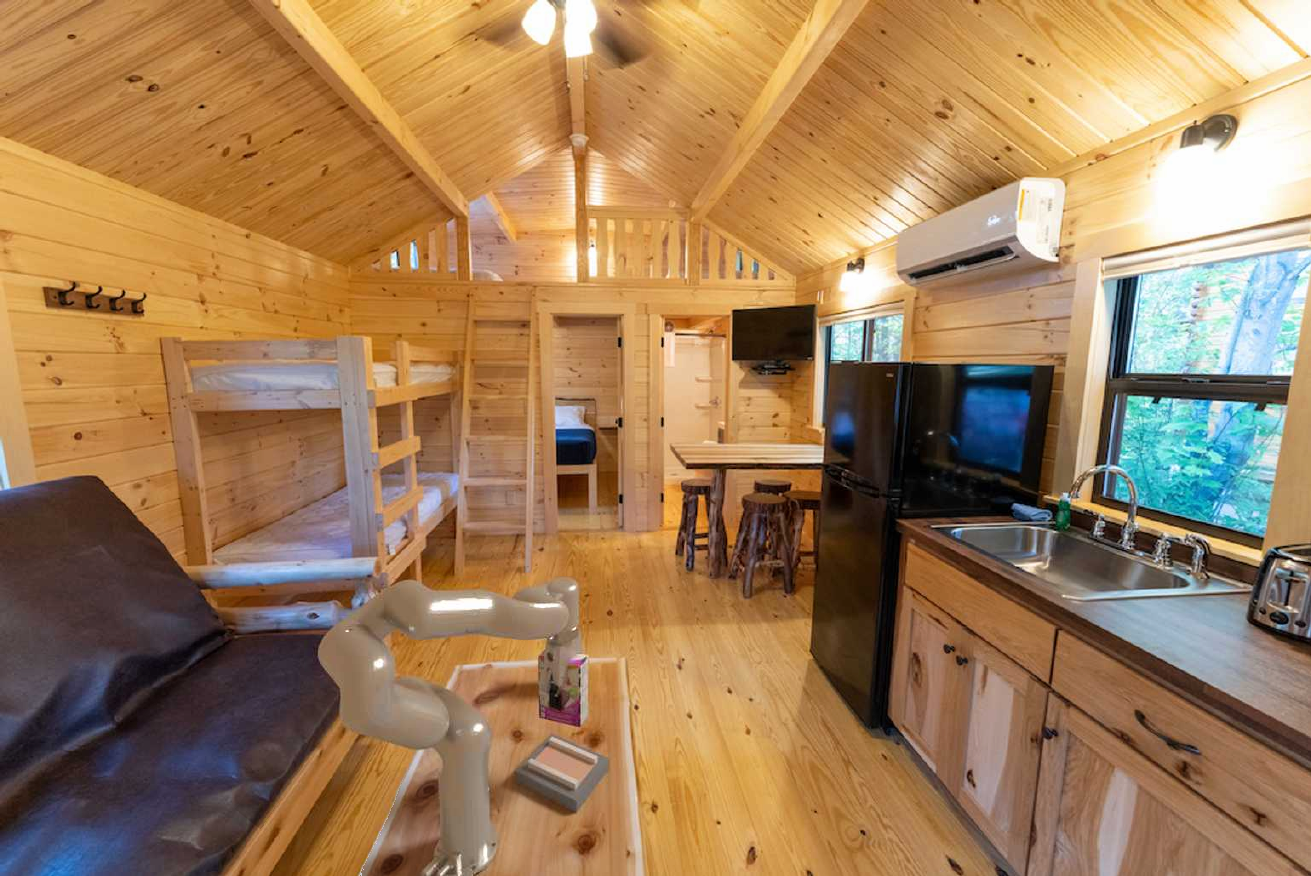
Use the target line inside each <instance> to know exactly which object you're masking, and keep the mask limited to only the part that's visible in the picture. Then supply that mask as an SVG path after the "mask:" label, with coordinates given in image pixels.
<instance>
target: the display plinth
mask: <svg viewBox="0 0 1311 876" xmlns="http://www.w3.org/2000/svg"><path fill="white" fill-rule="evenodd" d="M609 769H610V758H609V757H607V756H605V755H603V754H600V753H598V752H596V751H593V750H591V749H589V748H586V747H584V746H582V745H580V744H577V743H575V742H572V741H570V740H568V739H566V738H563V737H561V736H559V735H557V734H554V733H553V732H552V733H550V734H549V735H548V736H547V737H546V738H545V739H544V741H542V742H541V744H539V746H538V747H537V748H536V749H534V751H532V753H531V754H530V755H528V757H527V758H525V760H524V761H523V762H522V763H521V764H520V765H519V766H518V767H517V768H516V769H515V771H514V779H515V780H514V782H515V783H517V784H519V785H521V786H523V787H525V788H527V789H528V790H530V791H532V792H534V793H537V794H539V795H541V796H543V797H545V798H547V799H549V800H550V801H553V802H554V803H556V804H558V805H561V806H563V807H564V808H567V809H568V810H571V811H572V812H575V813H578V812H579V810H580V809H581V808H582V806H583V805H584V803H585V802H586V801H587V799H588V798H589V796H590V795H591V794H592V793H593V792H594V790H595V788H596V787H597V786H598V785H599V783H600V782H601V781H602V779H603V778H604V776H605V775H606V773H607V772H608V771H609Z"/></svg>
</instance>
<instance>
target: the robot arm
mask: <svg viewBox="0 0 1311 876" xmlns="http://www.w3.org/2000/svg"><path fill="white" fill-rule="evenodd" d="M579 587H580V586H579V583H578V582H577V581H576V580H575V579H574V578H570V577H565V576H564V577H558V578H554V579H552V580H550V581H549V582H547V583H542V584H537V585H530V586H527V587H523V588H521V589H519V590H517V592H515V593H514V595H513V596H512V597H511V598H510V597H508V596H505V595H503V594H500V593H497V592H494V591H491V590H488V589H487V590H486V589H457V590H455V589H454V590H453V589H451V590H450V589H449V590H448V589H447V590H434V589H430V588H429V587H427V586H426V585H424V584H423V583H421V582H419V581H418V580H414V579H405V580H401V581H398V582H395V583H394V584H392V585H391V586H390V585H389V586H388V587H386V588H385V589H384V590H382V591H381V592H378V594H376V595H374V597H373V596H372V598H371V599H369V600H368V601H366V602H365V603H363V604H362V605H361V606H359V607H358V608H357V609H355V610H354V611H352V612H351V613H349V614H348V615H347V616H346V617H344V618H343V619H342V620H340V621H339V622H337V623H336V624H335V625H334V626H333V627H331V628H330V629H329V630H328V631H327V633H326V634H324V636H323V637H322V639H321V641H320V644H318V645H319V646H318V650H317V657H318V660H319V663H320V665H321V666H322V668H323V669H324V670H325V672H326V673H327V674H328V675H329V676H330V677H331V679H332V680H333V681H334V682H335V684H336V685H337V686H338V687H339V691H340V701H339V717H340V721H341V723H342V725H343V726H344V728H346V730H349V731H350V732H352V733H355V734H359V735H362V736H367V737H369V738H372V739H376V740H378V741H382V742H385V743H389V744H392V745H396V746H399V747H403V748H405V749H409V750H413V751H421V750H422V751H423V750H427V749H430V748H433V750H434V751H435V752H436V753H437V754H438V755H439V757H440V759H441V762H442V767H441V770H440V771H439V774H438V781H437V782H438V785H437V786H438V799H439V802H438V803H439V805H438V806H439V820H440V823H439V825H440V838H439V840H438V841H437V843H436V846H435V848H434V851H433V859H432V860H431V861H430V862H429V863H427V865H426V866H425V867H424V868H423V869H422V870H421V872H420V876H433V875H434V874H435V876H471V875H473V874H476V873H477V872H479V871H481V870H482V871H483V870H485V868H487V867H488V866H489V865H490V863H491V862H492V861H493V859H494V857H495V855H496V854H497V851H498V848H499V833H498V831H497V828H496V827H495V825H493V823H491V819H490V818H491V817H490V816H491V815H490V814H491V813H490V810H491V809H490V783H489V781H490V776H489V759H490V751H491V746H492V741H493V732H492V726H491V725H490V723H489V722H488V720H487V719H486V717H485V716H484V715H483V714H482V713H481V712H479V710H477V709H476V708H475V707H474V706H472V704H470V703H468V701H466V700H465V699H464V698H463V697H461V696H460V695H459V694H458V693H457V692H455V691H453V690H451V689H449V688H447V687H444V686H440V685H438V684H437V683H434V682H431V681H428V680H426V679H424V678H421V677H419V676H414V675H405V676H400V677H397V678H395V677H396V661H395V657H394V654H393V652H392V650H391V649H390V647H388V646H387V644H386V643H384V642H383V640H384V639H386V638H387V636H389V635H390V634H391V633H393V632H394V631H395V630H397V631H399V632H400V633H401V634H402V635H404V636H405V637H407V638H409V639H412V640H414V641H415V640H416V641H427V640H437V639H438V640H439V639H446V638H455V637H464V636H465V637H466V636H476V635H477V636H478V635H481V636H486V637H491V638H501V639H508V640H520V641H521V640H522V641H530V640H531V641H533V640H541V639H546V643H545V649H544V650H545V656H544V678H545V680H544V682H543V685H542V687H541V691H543V692H546V693H548V694H549V707H551V708H553V709H555V710H558V711H560V710H561V709H562V698H561V694H560V689H561V686H563V685H564V684H566V683H567V682H568V663H569V662H570V661H571V660H572V659H573V658H574V657H575V656H577V655H578V654H579V653H580V654H584V644H583V638H582V637H583V636H582V633H581V631H580V613H579V612H580V601H579V600H580V592H579V591H580V589H579ZM553 684H555V685H556V690H555V689H553ZM486 866H487V867H486ZM436 870H437V871H438V872H437V871H436ZM482 871H481V872H482ZM435 872H436V873H435ZM479 873H480V872H479ZM476 875H477V874H476Z"/></svg>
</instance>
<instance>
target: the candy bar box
mask: <svg viewBox="0 0 1311 876" xmlns="http://www.w3.org/2000/svg"><path fill="white" fill-rule="evenodd" d="M544 656H545V649H544V650H543V651H542V652H541V654H540V655H539V656H538V657H537V659H538V660H537V664H538V665H537V669H538V671H537V672H538V673H537V675H538V718H540V719H542V720H547V721H551V722H555V723H560V724H564V725H568V726H572V727H577V728H581V727H582V726H583V724H584V722H585V721H586V719H587V718H588V716H589V655H588V654H585V653H583V654H580V653H579V654H578V655H577V656H575V657H574V658H573V659H572V660H571V661H570V662H569V663H568V682H567V683H566V684H564V685H563V686H561V689H560V694H561V698H562V709H561V710H560V711H558V710H555V709H553V708H551V707H549V694H548V693H546V692H543V691H541V687H542V685H543V682H544V680H545V678H544ZM553 689H555V690H556V685H555V684H553Z"/></svg>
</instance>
